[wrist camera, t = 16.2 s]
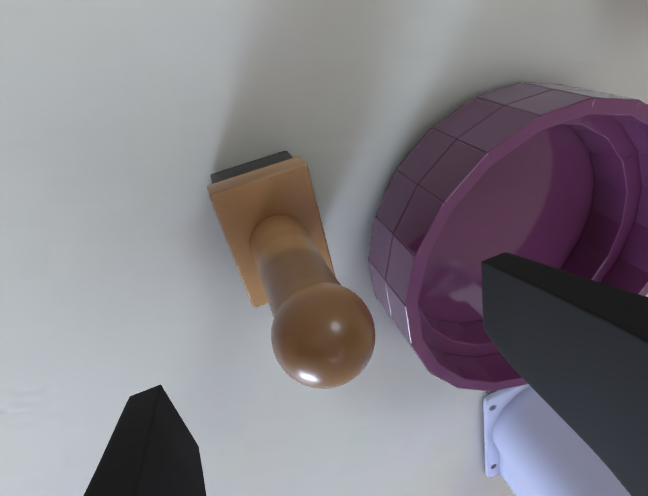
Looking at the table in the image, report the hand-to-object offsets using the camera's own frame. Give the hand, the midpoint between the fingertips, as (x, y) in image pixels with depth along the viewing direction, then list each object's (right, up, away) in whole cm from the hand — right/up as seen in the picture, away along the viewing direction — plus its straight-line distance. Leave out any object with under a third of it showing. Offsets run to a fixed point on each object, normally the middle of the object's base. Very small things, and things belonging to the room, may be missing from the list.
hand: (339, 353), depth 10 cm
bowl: (+8, +3, +13) cm, 16 cm away
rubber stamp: (-3, +4, +9) cm, 10 cm away
